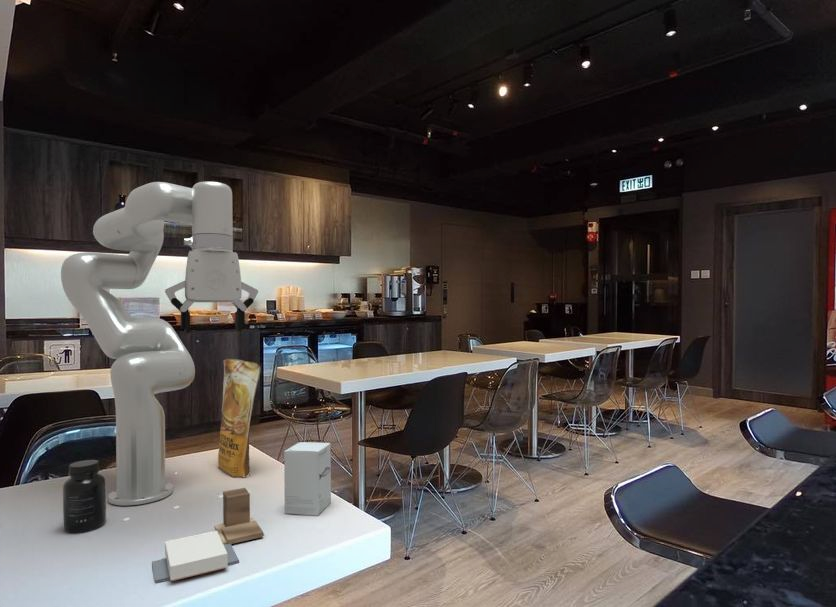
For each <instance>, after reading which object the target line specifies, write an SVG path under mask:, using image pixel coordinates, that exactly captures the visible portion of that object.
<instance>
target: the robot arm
mask: <svg viewBox="0 0 836 607" xmlns="http://www.w3.org/2000/svg"><path fill="white" fill-rule="evenodd" d="M126 198H127V199H126V202H125V204H124V207H121V208H119V209H116V210H114V211H111V212H109V213H106V214H104V215H102V216H101V217H99V218H98V219H97V220H96V221H95V223H94V224H93V228H92V233H93V237H94V238H95V240H96V241H97V242H98V243H99V244H100V245H101V246H103V247H104V248H105V247H106V249H107V248H108V249H111V250H114V251H115V250H116V251H125V252H129V253H128V254H127V255H126V254H125V255H124V254H114V253H107V252H106V253H103V252H94V251H93V252H79V253H73V254H72V255H69V256H68V257H67V258H65V259H64V260H63V263H62V265H61V270H60V280H61V284H62V285H61V286H62V289H63V291H64V294H65V296H66V298H67V300H68V301H69V302H70V303H71V305H72V307H74V308H75V309H76V311H77V312H78V314H80V315H81V317H82V318H83V319H84V320H85V323H86V324H87V326H88V328H89V330H90V331H91V333H92V335H93V337H94V339H95V340H96V342H97V344H98V346H99V348H100V349H101V350H102V352H103V353H104V354H105V356H107V357H108V358H110V359H114V361H113V363H112V365H111V367H110V374H109V375H110V383H111V388H112V392H113V398H114V405H115V429H116V430H115V432H116V433H115V435H116V436H115V437H116V438H115V440H116V441H115V446H116V447H115V450H116V451H115V453H116V454H115V455H116V461H115V462H116V463H115V466H116V469H115V472H116V474H115V476H116V482H115V485H116V489H114V490H113V491H111V492H110V493H109V494H108V496H107V501H108V502H109V504H112V505H114V506H125V507H127V506H138V505H139V506H140V505H144V504H149V503H153V502H157V501H160V500H162V499H164V498H167V497H169V496H170V495H171V494H172V493H173V492H174V486H173V484H172V483H169V482H166V422H165V421H166V420H165V419H166V416H165V411H164V408H163V406H162V404H160V402H159V400H158V399H157V398H156V397H155V395H156V394H159V393H166V392H173V391H177V390H182V389H186V388H187V387H189V386H190V385H191V383H193V381H194V379H195V374H196V368H195V367H196V366H195V363H194V361H193V358H192V356H191V354H190V352H189V351H188V349H187V348H186V346H185V345H184V343H183V342H182V340H181V339H180V337H179V335H178V333H177V332H176V331H175V329H174V328H173V326H172V325H171V324H170V323H169V322H167V321H166V320H165V319H162V318H158V317H137V316H133V315H131V314H130V313H129V311H128V310H127V309H126V306H125V305H124V304H123V302H122V301H121V300H120V299H119V298H117V297H116V296H114V295H113V294H112V293H110V292H108V291H107V289H109V290H134V289H137V288H139V287H141V286H142V285H143V283H145V281H146V279H147V277H148V276H149V273H150V271H151V269H152V268H153V265H154V263H155V261H156V260H157V257H158V255H159V253H160V251H161V249H162V247H163V244H164V239H165V236H164V235H165V234H164V228H165V222H169V223H170V222H171V223H175V224H183V225H189V226H191V234H192V235H191V236H190V237H188V238H184V239H183V243H184V244H183V245H184V246H188V247H190V248H191V250H188V254H187V259H186V266H185V276H184V278H185V280H183V281H180V282H178V283H175V284H174V285H172V286H170V287H167V288H165V290H164V293H165V296H166V297H167V298H168V300H169V302H170V304H171V305H173V306H174V307H175V308H176V309H177V310H178V311H179V312H180V329H181V330H182V329H184V331H183V332H184V333H186V334H189V333H191V312H190V311H189V309H190V307H192V306H193V304H194V303H231V304H232V305H233V306H234V307H235V308H236V311H235V313H234V321H235V323H234V325H235V328H234V330H235V331H236V332H242V331H243V328H245V326H246V317H245V316H246V314H245V311H246V312H247V310H248V309H249V307H250V306H251V305H252V304H253V303H254V302H255V299H256V298H257V295H258V293H259V290H258V289H257V288H255V287H253V286H251V285H249V284H247V283H245V282H243V281H242V277H241V268H240V260H239V256H238V253H237V252H235V251H234V250H233V249H234V239H233V238H234V237H233V236H234V235H233V234H234V233H233V232H234V230H233V226H234V225H233V191H232V188H231V187H230V186H229V185H227V183H222V182H219V181H199V182H197V183H195V184H194V185H193V186H192V187H187V186H185V185H184V186H183V185H180V184H179V185H178V184H174V183H169V182H165V181H153V182H149V183H146V184H144V185H141V186H138V187H136V188H134V189H132V190H131V192H130V193H129V195H128V196H127V197H126ZM233 251H234V252H233ZM105 289H106V290H105ZM183 289H184V296H185V301H183V302H182V301H180V300H179V299H178V298H177V297H176V296H177V295H175V294H176V292H178V291H180V290H183ZM243 291H244V292H247V293H248V296H247V298H246V299H245V300H244V301H242V299H241V298H242V295H243V294H242V292H243Z"/></svg>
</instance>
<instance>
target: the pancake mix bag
mask: <svg viewBox="0 0 836 607" xmlns="http://www.w3.org/2000/svg"><path fill="white" fill-rule="evenodd" d="M222 363H223V364H222V365H223V384H222V385H223V386H222V405H221V418H220V429H219V430H220V431H219V444H218V456H217V463H218V464H217V465H218V468H219V469H220V468H221V469H222V470H221V469H220V470H221V471H223V472H224V471H225V472H224V473H226V472H227V473H226V474H227V475H229V476H230V475H231V476H230V477H232V478H234V477H235V478H247V477H248V476H249V475H250V474H249V472H251V471H250V470H251V469H250V425H251V424H250V423H251V417H252V412H253V409H254V401H255V396H256V392H257V387H258V383H259V380H260V375H261V371H262V370H261V366H260V365H259V364H258V362H254V361H246V360H243V359H236V358H225V359H224V360H223V361H222ZM248 474H249V475H248ZM247 475H248V476H247ZM246 476H247V477H246Z"/></svg>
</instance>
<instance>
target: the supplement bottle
mask: <svg viewBox="0 0 836 607" xmlns="http://www.w3.org/2000/svg"><path fill="white" fill-rule="evenodd" d="M100 470H101V469H100V461H99V460H98V459H97V460H96V459H86V460H80V461H75V462H73V463H70V464H69V465H68V477H69V478H68V479H67V480H66V481H65V482H64V483H63V485H62V511H63V512H62V515H63V516H62V517H63V521H62V522H63V530H64V531H65V532H66V533H69V534H81V533H86V532H90V531H93V530H96V529H99V528H100V527H102V526H103V525H104V524H105V523H106V520H107V505H106V504H107V500H106V498H107V494H106V493H107V491H106V489H107V488H106V478H105V476H104V475H103V474H101V473H99V472H100Z"/></svg>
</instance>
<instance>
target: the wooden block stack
mask: <svg viewBox="0 0 836 607" xmlns="http://www.w3.org/2000/svg"><path fill="white" fill-rule="evenodd" d="M250 495H251V494H250V492H249V491H248V490H247V488H246V487H242V488H240V487H239V488H236V489H235V488H234V489H230V490H225V491H223V492H222V501H223V502H222V505H223V506H222V514H223V516H222V518H223V519H222V520H223V521H222V524H224V526H225V527H223V528H222V534H223V536H224V538H225V540H226V542H227V544H231V545H232V544H238V543H241V542H246V541H250V540H254V539H258V538H259V539H260V538H263V537H264V536H263V533H264V530H262V528H261V527H260V525H259V524H258V522H257V521H256V520H255V521H252V522H250V518H251V507H250V506H251V498H250ZM227 544H226V545H227Z"/></svg>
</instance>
